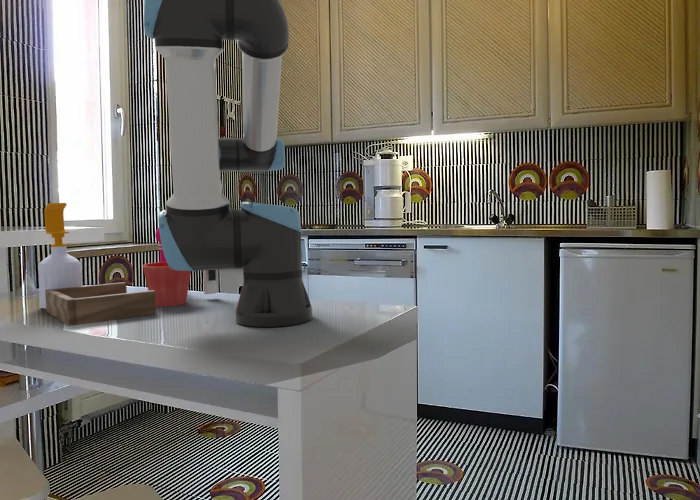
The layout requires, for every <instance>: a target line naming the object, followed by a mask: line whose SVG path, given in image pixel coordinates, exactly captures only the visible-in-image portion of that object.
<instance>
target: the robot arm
mask: <svg viewBox="0 0 700 500" xmlns="http://www.w3.org/2000/svg"><path fill="white" fill-rule="evenodd" d="M143 21H144V22H143V30H144V35H145V36H146V37H147V38H150V39H151V40H152V39H154V49H155V50H156V51H157V52H158V54H160V55H161V56H162V57H163V58H164V63H165V65H164V66H165V77H166V80H165V81H166V93H167V95H166V96H167V111H168V124H169V141H170V154H171V155H170V157H171V158H170V159H171V171H172V172H171V173H172V188H173V193H172V195H171V196H170V197H169V199H166V200H167V201H166V202H165V207H166V208H165V209H163V210H162V211H160V212H159V213H158V218H157V219H158V228H159V229H160V230H159V232H160V239H161V244H162V248H163V252H164V256H165V259H166V261H167V263H168V265H169V266H170V267H171V268H172V269H173V270H176V271H191V272H193V273H195V272H197V271H198V272H200V271H203V293H204V295H212V294H218V285H217V271H219V270H220V271H221V270H241V269H242V272H243V274H242V275H243V281H242V282H243V283H242V286H241V291H240V293H239V298H238V301H237V304H236V309H235V323H236V324H238V325H241V326H246V327H256V328H257V327H258V328H261V327H262V328H264V327H265V328H266V327H267V328H271V327H272V328H273V327H274V328H275V327H285V326H295V325H300V324H303V323H306V322H310V321H311V320H313V308H312V304H311V300H310V298H309V295H308V293H307V289H306V287H305V284H304V280H303V259H302V257H303V256H302V255H303V254H302V253H303V252H302V235H301V234H302V233H303V229H302V226H301V223H302V222H301V214H300V212H299V211H298V209H296V208H295V207H292V206H286V205H285V206H284V205H278V204H277V205H276V204H268V203H259V202H250V201H242V202H241V203H240V205H239V209H238V208H237V209H236V208H234V209H232V208H230V200H229V199H228V198H227V197H226V196H225V195H224V194H223V192H222V191H223V190H222V189H223V187H224V186H223V183H222V172H270V171H280V170H282V169H283V168H284V167H285V159H286V158H285V155H286V154H285V152H286V151H285V142H284V140H283V139H282V138H280V137H278V124H279V111H280V109H279V108H280V96H281V95H280V92H281V78H282V77H281V76H282V61H283V55H285V54H286V52H287V51H288V50H289V49H288V48H289V40H290V30H289V22H288V18H287V16H286V13H285V9H284V8H283V4H282V3H281V1H280V0H143ZM234 40H236V44H237V47H238V49H239V51H240V52H241V53H242V137H240V138H239V137H235V138H230V137H228V138H227V137H221V138H220V137H219V126H218V125H219V124H218V103H217V101H218V99H217V98H218V97H217V78H216V77H217V75H216V74H217V73H216V60H217V58H218V57H219V56H220V54H222V53H223V52H224V41H234Z"/></svg>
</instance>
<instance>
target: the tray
mask: <svg viewBox="0 0 700 500" xmlns="http://www.w3.org/2000/svg"><path fill="white" fill-rule="evenodd" d="M45 297H46V309H45V310H46V311H45V312H46V313H48V314H49V315H51V316H53V317H55V318H56V319H58V320H59V319H60V320H59V321H61V322H63V323H65V324H66V325H68V326H75V324H76V325H82V324H90V323H96V322H105V321H110V320H111V321H112V320H119V319H128V318H133V317H141V316H142V317H143V316H149V315H156V314H157V307H156V300H155V291H154V290H150V291H148V290H142V291H134V292H133V291H132V292H127V282H125V281H123V282H112V283H111V282H110V283H103V284H94V285H93V284H91V285H82V286H80V287H70V288H59V289H49V290H45Z"/></svg>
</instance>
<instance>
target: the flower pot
mask: <svg viewBox="0 0 700 500" xmlns="http://www.w3.org/2000/svg"><path fill="white" fill-rule="evenodd" d="M142 269H143V273H144V277H145V282H146V287H147V291H150V290H154V291H155V300H156V308H157V307H158V308H160V307H161V308H166V307H168V308H169V307H178V306H180V305H181V306H183V305H186V302H187V299H188V298H187V296H188V291H189V287H190V279H191V272H192V271H176V270H173V269H172V268H171V267H170V266H169V265H168V263H167V262H158V261H157V262H150V263H145V264H143V265H142Z"/></svg>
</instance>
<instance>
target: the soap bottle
mask: <svg viewBox="0 0 700 500" xmlns="http://www.w3.org/2000/svg"><path fill="white" fill-rule="evenodd" d="M66 206H68V205H67V203H66V202H49V203H47V204H46V205H45V208H44V228H45V233H46V234H47V235H51V238H52V239H53V241H54V243H51V244H50V254H49V255H48V256H47V257H45V258H43V259H42V260H41V261H40V262H39V264H38V267H37V270H38V272H37V273H38V284H39V285H38V287H39V301H40V307H41V309H43V310H46V297H45V290H49V289H59V288H70V287H80V286H83V278H82V277H83V275H82V265H81V262H80V260H78V259H77V258H76V257H75V256H73V255H70V254H69V253H68V251H67V244H66V243H63V238H65V234H70V231H66V230H65V219H64V218H65V217H64V211H65V208H66Z"/></svg>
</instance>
